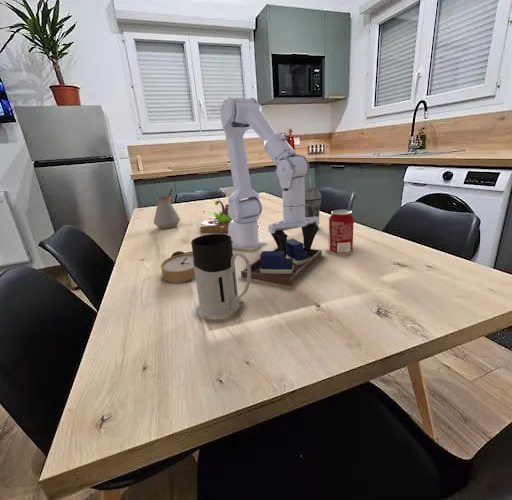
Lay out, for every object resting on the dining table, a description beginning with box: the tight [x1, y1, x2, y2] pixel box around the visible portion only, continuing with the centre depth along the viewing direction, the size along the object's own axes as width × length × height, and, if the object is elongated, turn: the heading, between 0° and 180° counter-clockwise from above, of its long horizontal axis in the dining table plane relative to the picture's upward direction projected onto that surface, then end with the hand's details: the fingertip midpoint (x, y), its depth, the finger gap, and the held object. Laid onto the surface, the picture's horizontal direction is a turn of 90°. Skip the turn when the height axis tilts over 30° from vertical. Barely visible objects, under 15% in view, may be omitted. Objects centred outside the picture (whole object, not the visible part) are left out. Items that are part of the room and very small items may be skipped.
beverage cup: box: [305, 175, 322, 227], centre depth 109 cm, size 7×7×20 cm
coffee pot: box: [153, 188, 181, 230], centre depth 135 cm, size 21×12×15 cm, turn 179°
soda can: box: [328, 209, 355, 254], centre depth 85 cm, size 7×7×12 cm
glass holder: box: [190, 233, 252, 320], centre depth 56 cm, size 9×14×15 cm, turn 46°
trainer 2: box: [285, 238, 309, 265], centre depth 81 cm, size 8×4×5 cm, turn 24°
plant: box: [200, 200, 232, 234], centre depth 123 cm, size 20×20×11 cm
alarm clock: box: [160, 250, 196, 284], centre depth 81 cm, size 11×5×15 cm
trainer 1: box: [259, 250, 294, 274], centre depth 74 cm, size 8×4×5 cm, turn 79°
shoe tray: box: [240, 246, 323, 287], centre depth 78 cm, size 13×21×2 cm, turn 149°
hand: (295, 253), depth 81 cm, fingers open, 7 cm apart
